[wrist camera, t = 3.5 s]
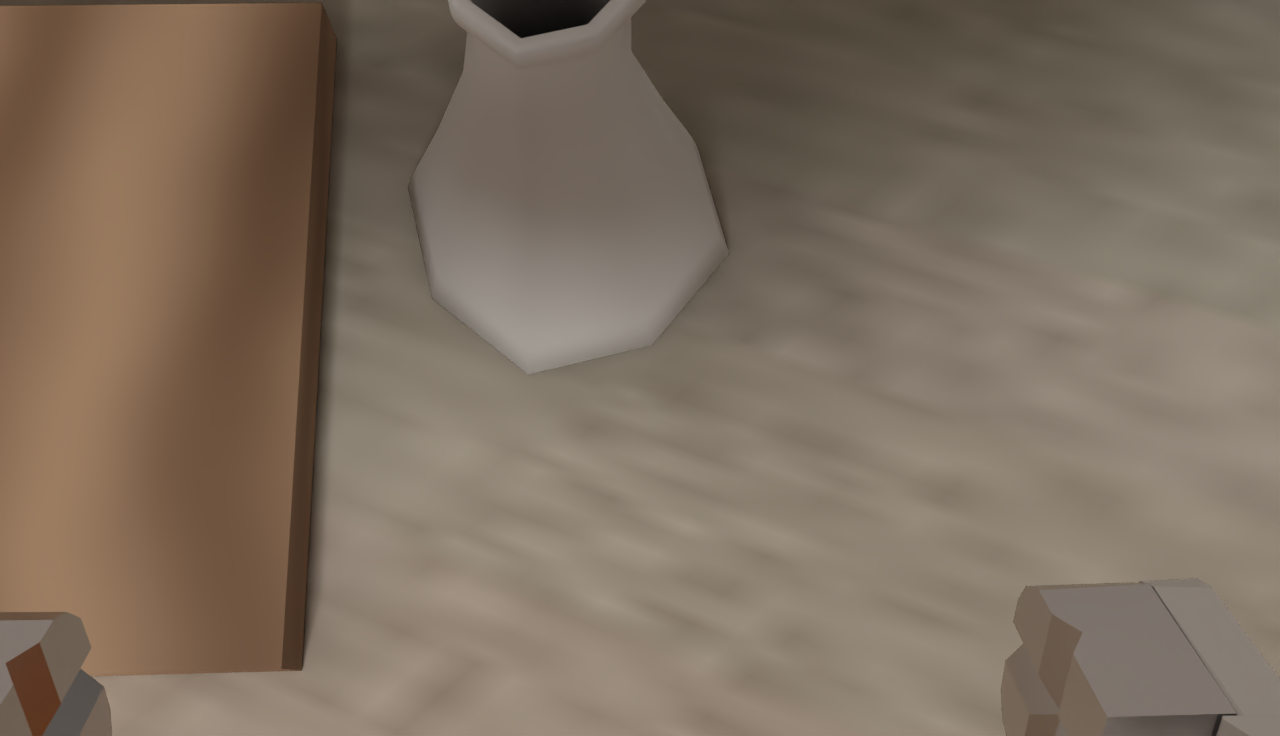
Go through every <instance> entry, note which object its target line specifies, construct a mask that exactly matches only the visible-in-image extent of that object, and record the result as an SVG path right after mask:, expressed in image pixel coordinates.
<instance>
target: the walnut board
mask: <svg viewBox="0 0 1280 736" xmlns="http://www.w3.org/2000/svg"><path fill="white" fill-rule="evenodd" d="M336 45H337V38H336V36H335V33H334V31H333V28H332V26H331V24H330V21H329V19H328V17H327V14H326V12H325V9H324V7H323V5H322V3H242V4H140V5H39V6H0V612H68V613H71V614H73V615H75V616H77V617H80V618H81V620H82V623H83V625H84V628H85V631H86V634H87V636H88V639H89V642H90V644H91V647H92V648H91V650H90V651H89V653H88V655H87V657H86V659H85V661H84V662H83V664H82V666H81V669H82V670H83V671H85V672H86V673H87V674H88V675H90V676H115V675H153V674H190V673H228V672H266V671H302V658H303V640H304V622H305V604H306V586H307V568H308V549H309V531H310V513H311V495H312V477H313V459H314V441H315V423H316V405H317V387H318V369H319V351H320V333H321V315H322V297H323V279H324V261H325V243H326V225H327V207H328V189H329V171H330V153H331V135H332V117H333V99H334V81H335V63H336Z"/></svg>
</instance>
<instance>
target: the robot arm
mask: <svg viewBox="0 0 1280 736" xmlns="http://www.w3.org/2000/svg"><path fill="white" fill-rule="evenodd" d="M1013 622H1014V624H1015V627H1016V629H1017V631H1018V633H1019V635H1020V637H1021V639H1022V641H1023V644H1022V645H1021V646H1020V647H1019V648H1018V649H1017V650H1016V651H1015V652H1014V653H1013V654H1012V655H1011V656H1010V657H1009V658H1008V659H1006V660H1005V666H1004V672H1003V679H1002V685H1001V703H1002V720H1003V725H1004V729H1005V733H1006V736H1280V678H1279V676H1278V675H1277V674H1276V672H1275V671H1274V670H1273V668H1272V667H1271V666H1270V664H1269V663H1268V662H1267V660H1266V659H1265V658H1264V656H1263V655H1262V654H1261V652H1260V651H1259V650H1258V648H1257V647H1256V646H1255V644H1254V643H1253V642H1252V640H1251V639H1250V638H1249V636H1248V635H1247V634H1246V632H1245V631H1244V630H1243V628H1242V627H1241V626H1240V624H1239V623H1238V622H1237V620H1236V619H1235V618H1234V616H1233V615H1232V614H1231V612H1230V611H1229V610H1228V608H1227V607H1226V606H1225V604H1224V603H1223V602H1222V600H1221V599H1220V598H1219V596H1218V595H1217V594H1216V592H1215V591H1214V590H1213V588H1212V587H1211V586H1210V585H1209V584H1207V583H1205V582H1203V581H1202V580H1200V579H1198V578H1190V579H1169V580H1148V581H1140V582H1138V583H1133V582H1131V583H1101V584H1071V585H1041V586H1026V587H1025V588H1024V590H1023V592H1022V593H1021V595H1020V597H1019V598H1018V602H1017V606H1016V611H1015V616H1014V620H1013ZM91 648H92V647H91V644H90V642H89V639H88V636H87V634H86V631H85V628H84V625H83V623H82V620H81V618H80V617H77V616H75V615H73V614H71V613H68V612H0V736H112V726H111V711H110V706H109V702H108V699H107V696H106V692H105V689H104V686H102V685H101V684H100V683H99V682H97V681H96V680H95V679H93V678H92V677H91V676H90V675H88V674H87V673H86V672H85V671H83V670H82V669H81V666H82V664H83V662H84V661H85V659H86V657H87V655H88V653H89V651H90V650H91Z"/></svg>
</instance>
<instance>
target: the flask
mask: <svg viewBox="0 0 1280 736" xmlns="http://www.w3.org/2000/svg"><path fill="white" fill-rule="evenodd" d="M646 1H647V0H448V3H449V8H450V12H451V16H452V18H453V19H454V21H455V22H456V24H457V25H459V26H460V27H461V28H463V29H464V30H465V31H467V39H466V48H465V58H464V68H463V73H462V75H461V78H460V80H459V82H458V84H457V87H456V89H455V91H454V93H453V96H452V98H451V100H450V102H449V105H448V107H447V109H446V112H445V114H444V116H443V118H442V121H441V123H440V125H439V127H438V130H437V132H436V133H435V135H434V137H433V139H432V141H431V142H430V144H429V146H428V148H427V150H426V152H425V153H424V155H423V157H422V159H421V161H420V162H419V164H418V166H417V168H416V170H415V172H414V174H413V176H412V178H411V181H410V183H409V185H408V190H409V195H410V199H411V204H412V208H413V213H414V218H415V222H416V227H417V231H418V236H419V241H420V245H421V250H422V254H423V259H424V264H425V268H426V273H427V277H428V282H429V286H430V291H431V296H432V299H433V300H435V301H436V302H437V303H439V304H440V305H441V306H442V307H444V308H445V309H446V310H447V311H449V312H450V313H451V314H452V315H454V316H455V317H456V318H457V319H459V320H460V321H461V322H462V323H464V324H465V325H466V326H467V327H469V328H470V329H471V330H473V331H474V332H475V333H476V334H478V335H479V336H480V337H481V338H483V339H484V340H485V341H486V342H488V343H489V344H490V345H491V346H493V347H494V348H495V349H496V350H498V351H499V352H500V353H502V354H503V355H504V356H505V357H507V358H508V359H509V360H510V361H512V362H513V363H514V364H515V365H517V366H518V367H519V368H520V369H522V370H523V371H524V372H525V373H527V374H528V375H529V374H533V373H537V372H542V371H546V370H550V369H554V368H558V367H563V366H567V365H571V364H575V363H579V362H584V361H588V360H592V359H596V358H600V357H605V356H609V355H613V354H617V353H621V352H626V351H630V350H634V349H638V348H642V347H647V346H651V345H653V343H654V342H655V341H656V340H657V339H658V338H659V336H660V335H661V334H662V333H663V332H664V330H665V329H666V328H667V327H668V326H669V324H670V323H671V322H672V321H673V320H674V319H675V317H676V316H677V315H678V314H679V313H680V311H681V310H682V309H683V308H684V307H685V305H686V304H687V303H688V302H689V301H690V300H691V298H692V297H693V296H694V295H695V294H696V292H697V291H698V290H699V289H700V288H701V286H702V285H703V284H704V283H705V282H706V281H707V279H708V278H709V277H710V276H711V275H712V273H713V272H714V271H715V270H716V269H717V267H718V266H719V265H720V264H721V263H722V262H723V260H724V259H725V258H726V257H727V256H728V254H729V252H728V249H727V245H726V242H725V238H724V235H723V232H722V228H721V225H720V222H719V218H718V215H717V212H716V208H715V205H714V202H713V198H712V195H711V191H710V188H709V185H708V181H707V178H706V175H705V171H704V168H703V165H702V161H701V158H700V155H699V151H698V148H697V145H696V143H695V142H694V140H693V139H692V137H691V136H690V134H689V133H688V131H687V130H686V129H685V127H684V126H683V125H682V124H681V122H680V121H679V120H678V118H677V117H676V116H675V115H674V113H673V112H672V111H671V109H670V108H669V107H668V105H667V104H666V103H665V102H664V100H663V99H662V98H661V96H660V95H659V93H658V91H657V90H656V88H655V87H654V85H653V84H652V82H651V80H650V79H649V77H648V76H647V74H646V73H645V71H644V70H643V68H642V66H641V65H640V63H639V62H638V60H637V59H636V57H635V56H634V54H633V52H632V51H631V17H632V16H633V15H634V14H635V13H636V11H637V10H638V9H639V8H640V7H641V6H642V5H643V4H644V3H645V2H646Z"/></svg>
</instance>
